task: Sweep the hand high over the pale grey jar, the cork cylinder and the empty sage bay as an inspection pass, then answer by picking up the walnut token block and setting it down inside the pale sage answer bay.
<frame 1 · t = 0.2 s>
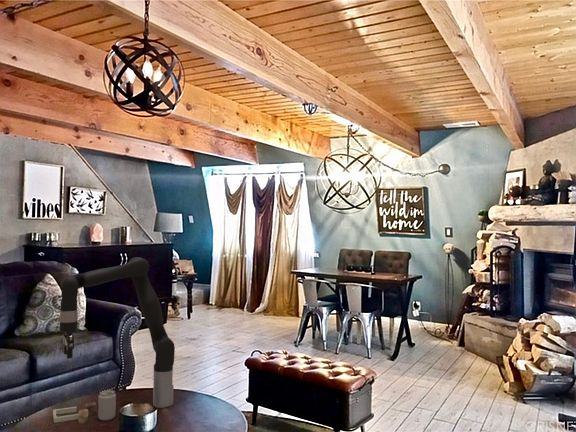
hand: (68, 356, 220), 29 cm above the table, fingers open, 8 cm apart
walnut block: (90, 413, 228), on the table
answer bay: (67, 416, 224), on the table
pale grey jar: (106, 418, 223), on the table
cork cylinder: (83, 421, 218), on the table
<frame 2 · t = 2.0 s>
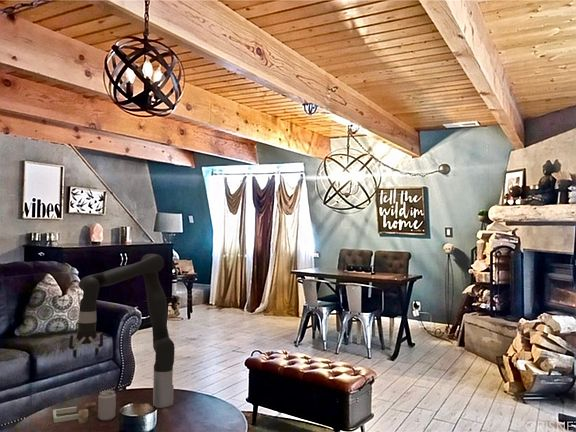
hand: (85, 357, 219), 29 cm above the table, fingers open, 8 cm apart
nothing on the table moved.
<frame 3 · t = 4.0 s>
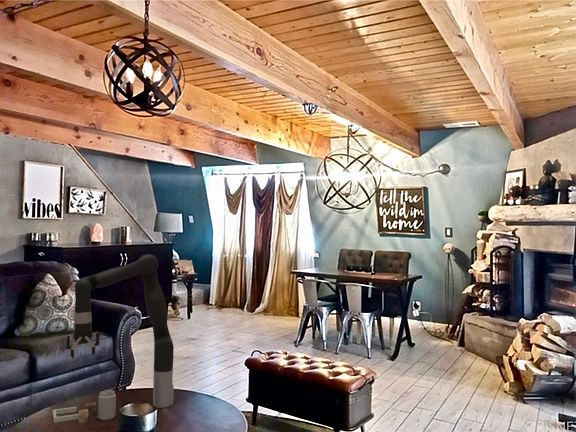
hand: (82, 356, 227), 27 cm above the table, fingers open, 8 cm apart
nothing on the table moved.
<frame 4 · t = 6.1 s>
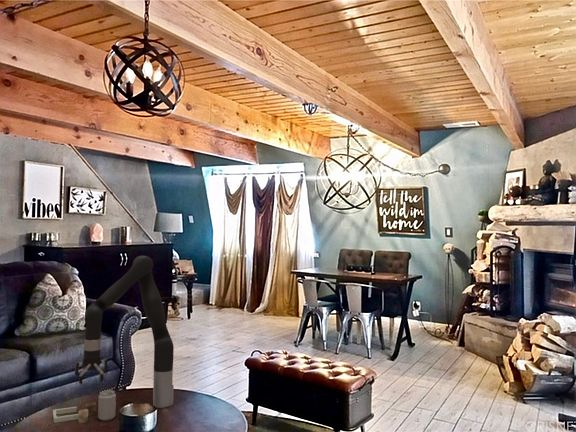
hand: (91, 383, 228), 14 cm above the table, fingers open, 8 cm apart
nothing on the table moved.
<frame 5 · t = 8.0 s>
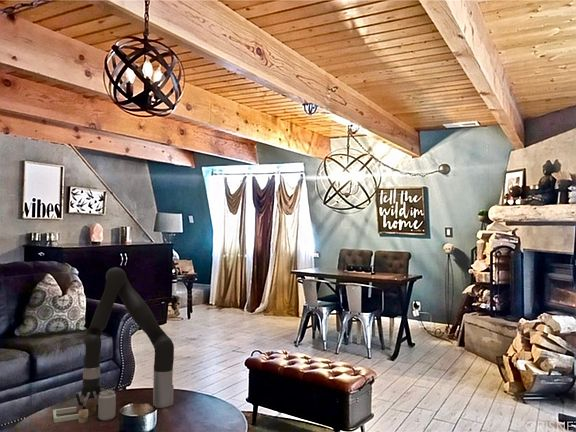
hand: (90, 412, 228), 0 cm above the table, fingers closed on walnut block, 4 cm apart
walnut block: (90, 413, 228), on the table, touching gripper
everything else where it was.
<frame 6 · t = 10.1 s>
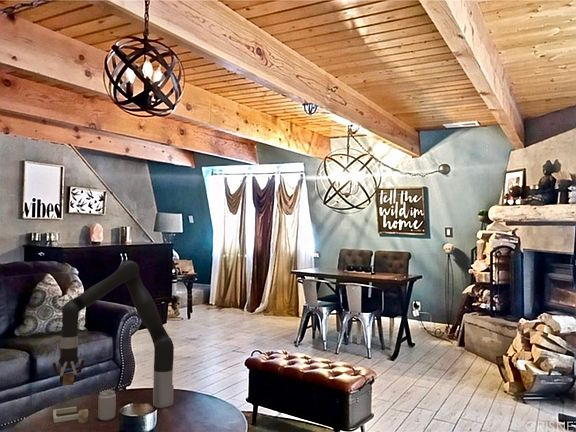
hand: (67, 382, 224), 15 cm above the table, fingers closed on walnut block, 4 cm apart
walnut block: (68, 383, 224), point 15 cm above the table, touching gripper
everything else where it was.
when the fingers open (2 cm above the table, at t = 12.5 s): walnut block drops 1 cm, on the table.
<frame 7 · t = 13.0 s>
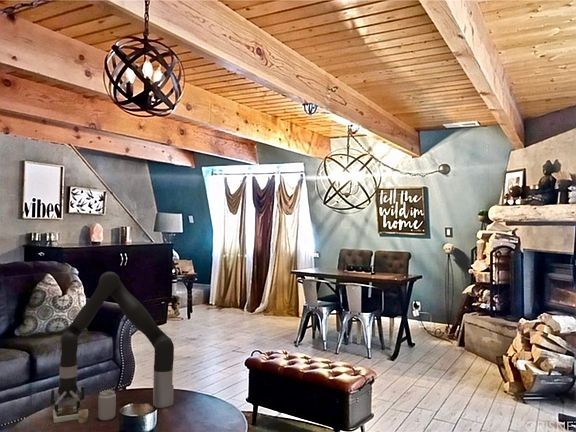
hand: (67, 410, 224), 3 cm above the table, fingers open, 8 cm apart
walnut block: (67, 416, 224), on the table
everything else where it was.
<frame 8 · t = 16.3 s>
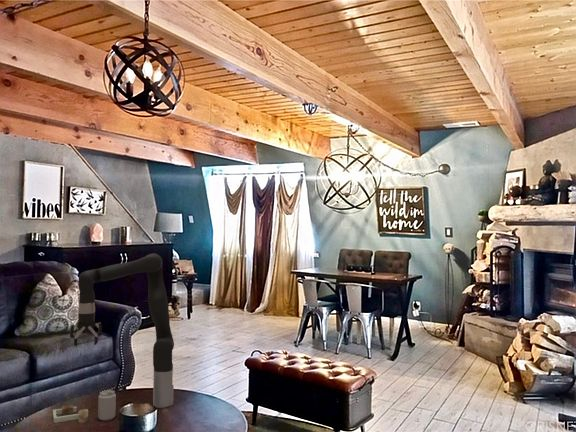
hand: (85, 345, 236), 30 cm above the table, fingers open, 8 cm apart
nothing on the table moved.
at the end: walnut block inside the target area on the answer bay (0.5 cm from its centre), point 0.0 cm above the answer bay's base; the gripper is holding nothing; pale grey jar moved 0.2 cm from its start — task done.
